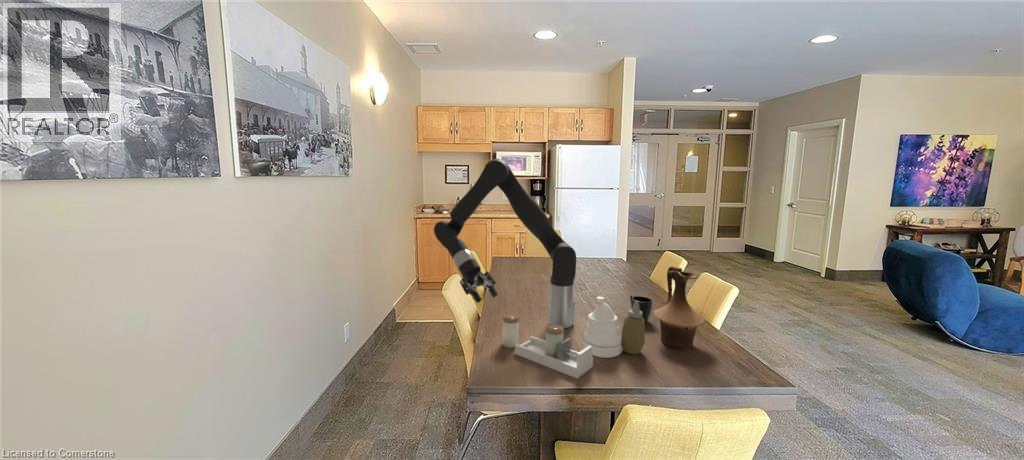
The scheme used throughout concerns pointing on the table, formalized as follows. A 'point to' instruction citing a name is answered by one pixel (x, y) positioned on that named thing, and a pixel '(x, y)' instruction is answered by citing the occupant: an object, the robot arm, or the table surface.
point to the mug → (642, 305)
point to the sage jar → (553, 339)
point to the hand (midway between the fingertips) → (487, 298)
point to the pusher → (564, 350)
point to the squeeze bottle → (633, 331)
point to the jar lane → (569, 366)
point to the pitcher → (678, 313)
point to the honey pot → (603, 332)
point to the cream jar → (510, 330)
